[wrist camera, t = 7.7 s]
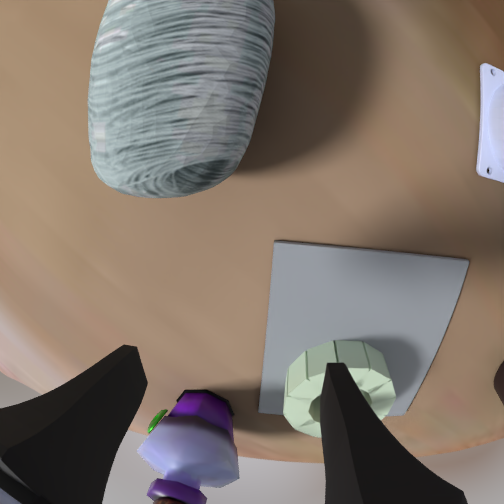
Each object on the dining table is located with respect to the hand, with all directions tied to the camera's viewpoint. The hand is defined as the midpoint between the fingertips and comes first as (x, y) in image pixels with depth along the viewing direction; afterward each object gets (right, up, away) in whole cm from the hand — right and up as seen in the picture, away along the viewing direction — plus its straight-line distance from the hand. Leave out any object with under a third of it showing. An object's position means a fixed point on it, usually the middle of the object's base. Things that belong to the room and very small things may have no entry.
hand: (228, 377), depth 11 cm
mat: (+9, -3, +11) cm, 14 cm away
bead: (+8, -6, +11) cm, 15 cm away
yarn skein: (-2, +15, +5) cm, 16 cm away
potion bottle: (-3, -10, +15) cm, 19 cm away
